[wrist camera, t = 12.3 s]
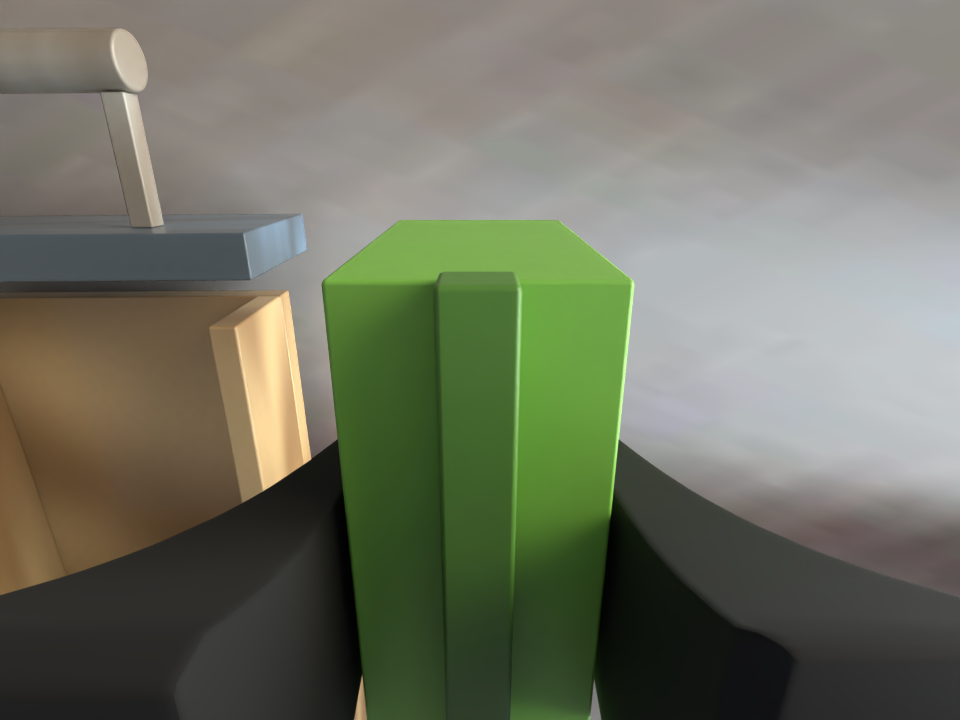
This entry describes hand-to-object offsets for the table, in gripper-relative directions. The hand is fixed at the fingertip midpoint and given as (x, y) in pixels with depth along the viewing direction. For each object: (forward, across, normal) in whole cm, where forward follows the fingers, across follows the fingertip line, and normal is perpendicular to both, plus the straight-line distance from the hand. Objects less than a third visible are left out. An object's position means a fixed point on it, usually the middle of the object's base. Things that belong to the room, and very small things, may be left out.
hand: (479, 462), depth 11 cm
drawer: (+9, +12, +2) cm, 15 cm away
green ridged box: (+2, 0, 0) cm, 2 cm away
